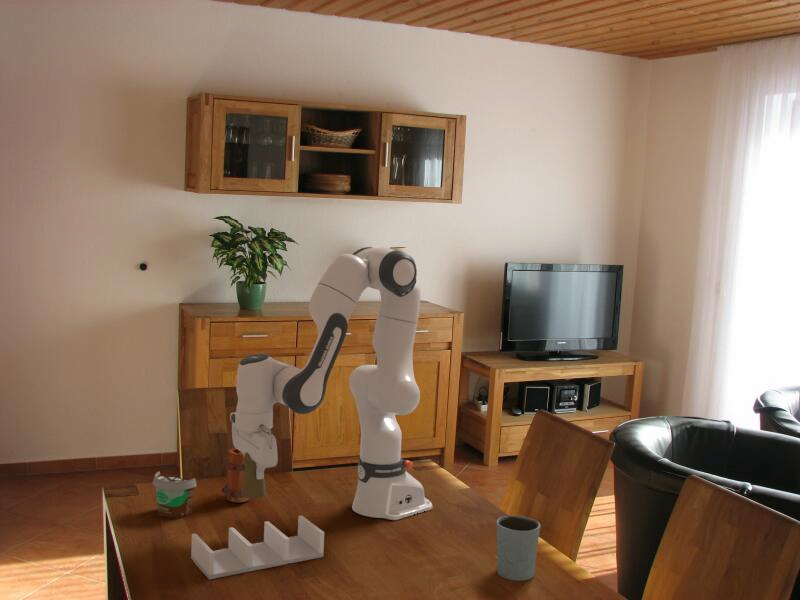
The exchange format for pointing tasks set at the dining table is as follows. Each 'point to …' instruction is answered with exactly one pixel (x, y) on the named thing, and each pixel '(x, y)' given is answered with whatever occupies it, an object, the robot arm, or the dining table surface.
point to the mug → (234, 476)
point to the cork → (252, 480)
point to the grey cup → (517, 547)
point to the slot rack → (258, 550)
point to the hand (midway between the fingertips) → (254, 474)
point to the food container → (174, 495)
